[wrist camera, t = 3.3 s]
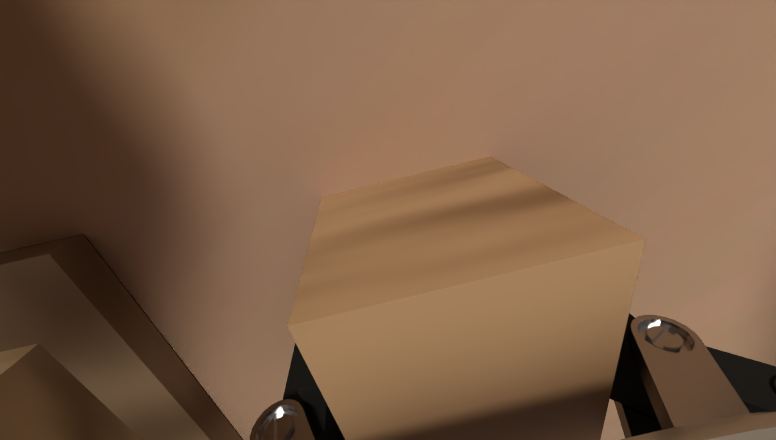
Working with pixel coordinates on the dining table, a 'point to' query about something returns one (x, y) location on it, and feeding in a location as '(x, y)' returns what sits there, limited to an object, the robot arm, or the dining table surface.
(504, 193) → the tan block
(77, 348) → the pedestal board
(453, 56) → the dining table surface
